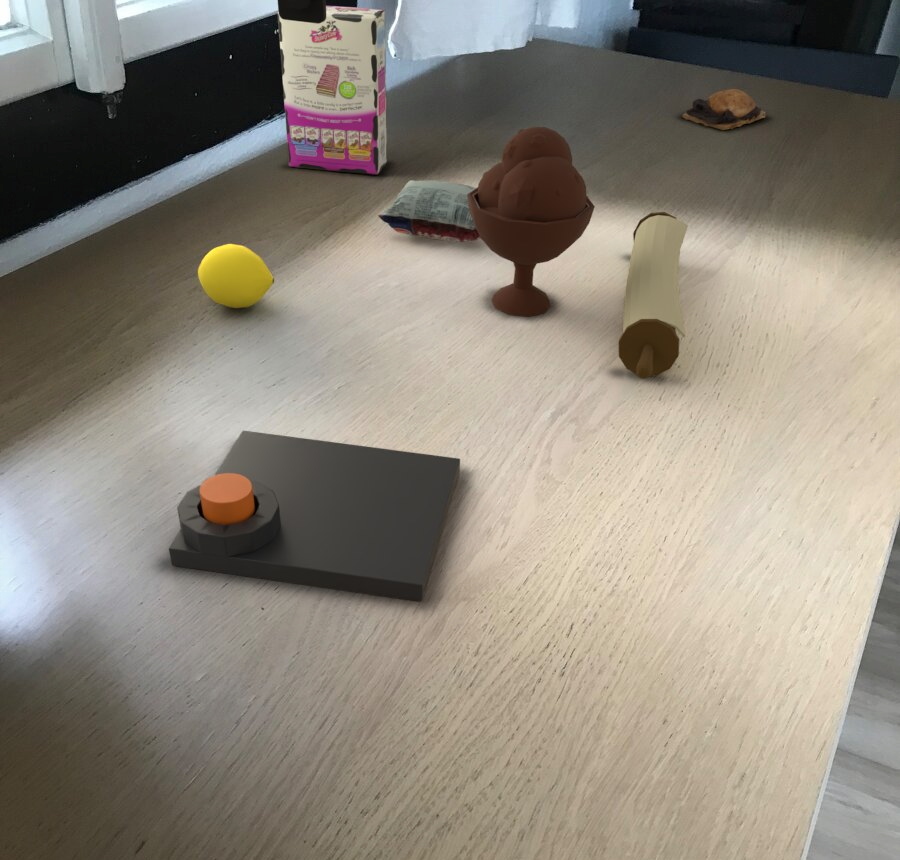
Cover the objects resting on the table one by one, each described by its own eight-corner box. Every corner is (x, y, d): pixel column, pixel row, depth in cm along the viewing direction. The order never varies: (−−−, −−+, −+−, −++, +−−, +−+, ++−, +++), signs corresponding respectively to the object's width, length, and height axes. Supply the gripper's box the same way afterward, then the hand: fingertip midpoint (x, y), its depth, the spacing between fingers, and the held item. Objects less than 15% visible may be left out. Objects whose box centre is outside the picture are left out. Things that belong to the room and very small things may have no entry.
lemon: (190, 313, 87) (181, 253, 84) (213, 288, 91) (206, 230, 88) (265, 323, 86) (259, 263, 83) (285, 297, 90) (280, 239, 87)
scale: (170, 566, 61) (163, 528, 59) (243, 446, 72) (239, 410, 70) (421, 602, 60) (422, 565, 58) (459, 474, 70) (461, 438, 68)
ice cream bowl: (442, 290, 93) (448, 120, 83) (542, 271, 97) (559, 108, 87) (496, 338, 86) (510, 159, 76) (602, 316, 90) (628, 144, 80)
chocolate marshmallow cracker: (721, 105, 144) (727, 77, 142) (770, 119, 139) (776, 91, 137) (676, 116, 138) (681, 88, 136) (724, 132, 134) (731, 102, 131)
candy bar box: (388, 163, 119) (387, 8, 108) (378, 176, 115) (377, 17, 104) (299, 154, 120) (289, -1, 109) (286, 167, 117) (275, 9, 106)
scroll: (631, 243, 103) (639, 195, 100) (685, 250, 103) (695, 201, 99) (605, 394, 80) (614, 337, 76) (675, 403, 79) (687, 346, 76)
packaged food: (406, 209, 108) (406, 163, 104) (509, 227, 105) (513, 180, 102) (376, 239, 102) (375, 190, 98) (485, 258, 99) (488, 209, 96)
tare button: (195, 522, 61) (191, 499, 59) (213, 492, 63) (210, 469, 62) (245, 529, 60) (242, 506, 59) (261, 499, 63) (259, 476, 61)
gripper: (318, -327, 64) (330, -21, 75) (186, -344, 51) (224, 26, 63) (427, -323, 62) (422, -11, 74) (319, -339, 50) (333, 39, 61)
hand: (331, 6), depth 68 cm, fingers open, 9 cm apart
